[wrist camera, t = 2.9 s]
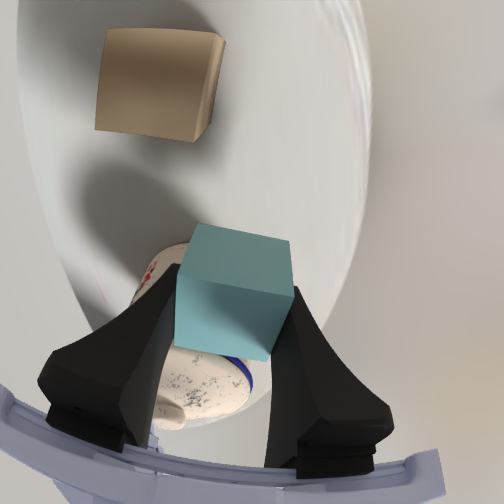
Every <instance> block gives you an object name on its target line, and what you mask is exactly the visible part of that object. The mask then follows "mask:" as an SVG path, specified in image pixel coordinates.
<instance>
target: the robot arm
mask: <svg viewBox="0 0 504 504" xmlns="http://www.w3.org/2000/svg"><path fill="white" fill-rule="evenodd" d="M180 266H181V264H177V263H172V264H171V265H170V266H169V267H168V268H167V270H166V271H165V272H164V273H163V274H162V275H161V277H160V278H159V279H158V280H157V281H156V282H155V283H154V284H153V285H152V286H151V287H150V288H149V289H148V290H147V291H146V292H145V293H144V294H143V295H142V296H141V297H140V298H139V299H137V300H136V301H135V302H134V303H133V304H132V305H131V306H130V307H128V308H127V309H126V310H125V311H123V312H122V313H121V314H120V315H118V316H117V317H116V318H114V319H113V320H111V321H110V322H108V323H107V324H105V325H104V326H102V327H101V328H99V329H98V330H96V331H94V332H93V333H91V334H89V335H87V336H85V337H84V338H82V339H80V340H78V341H76V342H74V343H72V344H69V345H67V346H65V347H62V348H60V349H58V350H55V351H53V352H52V354H51V355H50V357H49V358H48V360H47V361H46V363H45V365H44V367H43V369H42V371H41V373H40V375H39V377H38V380H37V381H38V386H39V387H40V389H41V391H42V392H43V393H44V395H45V396H46V398H47V399H48V400H49V402H50V403H51V406H50V409H49V411H48V414H46V413H44V412H42V411H40V410H38V409H36V408H33V407H31V406H30V405H28V404H26V403H24V402H22V401H20V400H18V399H16V398H15V397H14V395H13V394H12V393H11V392H10V391H9V390H8V389H7V388H6V387H5V386H3V385H1V384H0V450H2V451H4V452H5V453H7V454H8V455H10V456H12V457H13V458H15V459H16V460H18V461H20V462H22V463H23V464H25V465H27V466H29V467H30V468H32V469H34V470H36V471H38V472H40V473H42V474H44V475H46V476H47V477H50V478H52V479H53V482H54V484H55V485H56V486H57V488H58V489H59V490H60V492H61V493H62V494H63V496H64V497H65V498H66V499H67V500H68V502H69V503H70V504H424V503H426V502H430V501H432V500H435V499H438V498H440V497H443V496H445V495H446V490H445V485H444V479H443V474H442V468H441V463H440V458H439V454H438V450H437V449H431V450H427V451H422V452H418V453H415V454H413V455H411V456H409V457H407V458H406V459H405V460H399V461H394V462H387V463H380V464H374V462H373V454H375V453H376V447H375V445H376V444H377V443H378V442H380V441H382V440H383V439H384V438H386V437H387V436H388V435H390V434H391V433H392V431H393V430H394V423H393V418H392V413H391V410H390V407H389V405H387V404H386V403H385V402H384V401H382V400H381V399H380V398H379V397H377V396H376V395H375V394H373V393H372V392H371V391H370V390H369V389H368V388H367V387H366V386H365V385H364V384H362V383H361V382H360V381H359V380H358V379H357V378H356V376H354V375H353V373H352V372H351V371H350V370H349V369H348V368H347V367H346V366H345V364H344V363H343V362H342V361H341V360H340V358H339V357H338V356H337V354H336V353H335V352H334V350H333V349H332V348H331V346H330V345H329V343H328V342H327V341H326V339H325V337H324V336H323V334H322V332H321V331H320V329H319V327H318V325H317V324H316V322H315V320H314V318H313V316H312V315H311V313H310V311H309V309H308V307H307V305H306V303H305V301H304V299H303V297H302V295H301V293H300V291H299V289H298V287H297V286H294V296H295V297H294V300H293V302H292V305H291V307H290V309H289V312H288V314H287V316H286V319H285V321H284V323H283V326H282V328H281V330H280V333H279V335H278V337H277V340H276V342H275V344H274V346H273V349H272V351H271V371H272V399H271V412H270V423H269V434H268V442H267V450H266V457H265V464H264V468H259V467H246V466H236V465H227V464H219V463H212V462H205V461H199V460H193V459H188V458H182V457H177V456H172V455H167V454H165V453H164V450H163V448H162V447H161V446H158V440H159V437H156V436H154V434H155V430H156V427H157V425H156V424H154V423H153V422H152V417H153V412H154V406H155V401H156V396H157V392H158V387H159V382H160V378H161V374H162V370H163V366H164V363H165V360H166V357H167V354H168V351H169V349H170V346H171V343H172V340H173V338H174V335H175V306H176V286H177V274H178V271H179V269H180ZM166 474H170V475H166ZM172 475H174V476H172ZM178 476H179V477H178ZM274 487H284V488H283V489H279V488H274Z"/></svg>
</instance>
